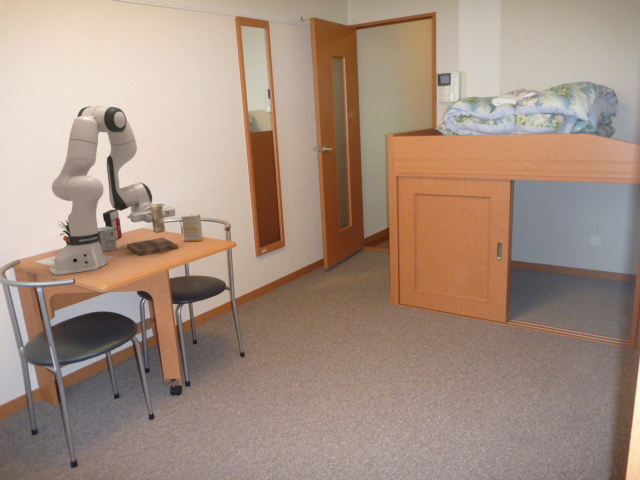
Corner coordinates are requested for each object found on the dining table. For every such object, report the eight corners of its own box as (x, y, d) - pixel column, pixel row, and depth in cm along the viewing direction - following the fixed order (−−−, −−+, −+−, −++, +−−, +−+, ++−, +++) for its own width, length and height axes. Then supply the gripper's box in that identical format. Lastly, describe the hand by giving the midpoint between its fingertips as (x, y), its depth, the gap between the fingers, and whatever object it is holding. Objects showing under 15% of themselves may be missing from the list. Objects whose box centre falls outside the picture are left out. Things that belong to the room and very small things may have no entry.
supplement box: (203, 239, 273) (200, 213, 270) (200, 241, 268) (197, 215, 265) (187, 239, 274) (184, 214, 271) (184, 241, 269) (181, 216, 266)
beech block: (156, 233, 244) (153, 207, 241) (153, 231, 247) (150, 205, 244) (165, 231, 246) (161, 205, 243) (162, 230, 249) (158, 204, 246)
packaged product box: (115, 241, 277) (110, 213, 274) (106, 242, 277) (102, 213, 274) (122, 236, 288) (119, 209, 284) (114, 237, 288) (110, 209, 285)
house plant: (49, 254, 257) (43, 221, 253) (68, 247, 270) (63, 215, 266) (75, 255, 254) (70, 220, 250) (93, 247, 267) (88, 215, 263)
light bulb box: (111, 247, 266) (108, 225, 263) (117, 249, 261) (114, 227, 258) (89, 252, 259) (86, 229, 256) (95, 254, 254) (92, 231, 251)
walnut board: (140, 255, 246) (139, 251, 246) (127, 248, 262) (126, 244, 262) (178, 248, 256) (177, 244, 256) (163, 241, 272) (162, 237, 272)
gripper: (125, 209, 249) (134, 213, 238) (168, 203, 260) (178, 206, 249) (126, 223, 250) (135, 227, 239) (169, 216, 262) (180, 220, 250)
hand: (158, 216), depth 244 cm, fingers closed on beech block, 4 cm apart
